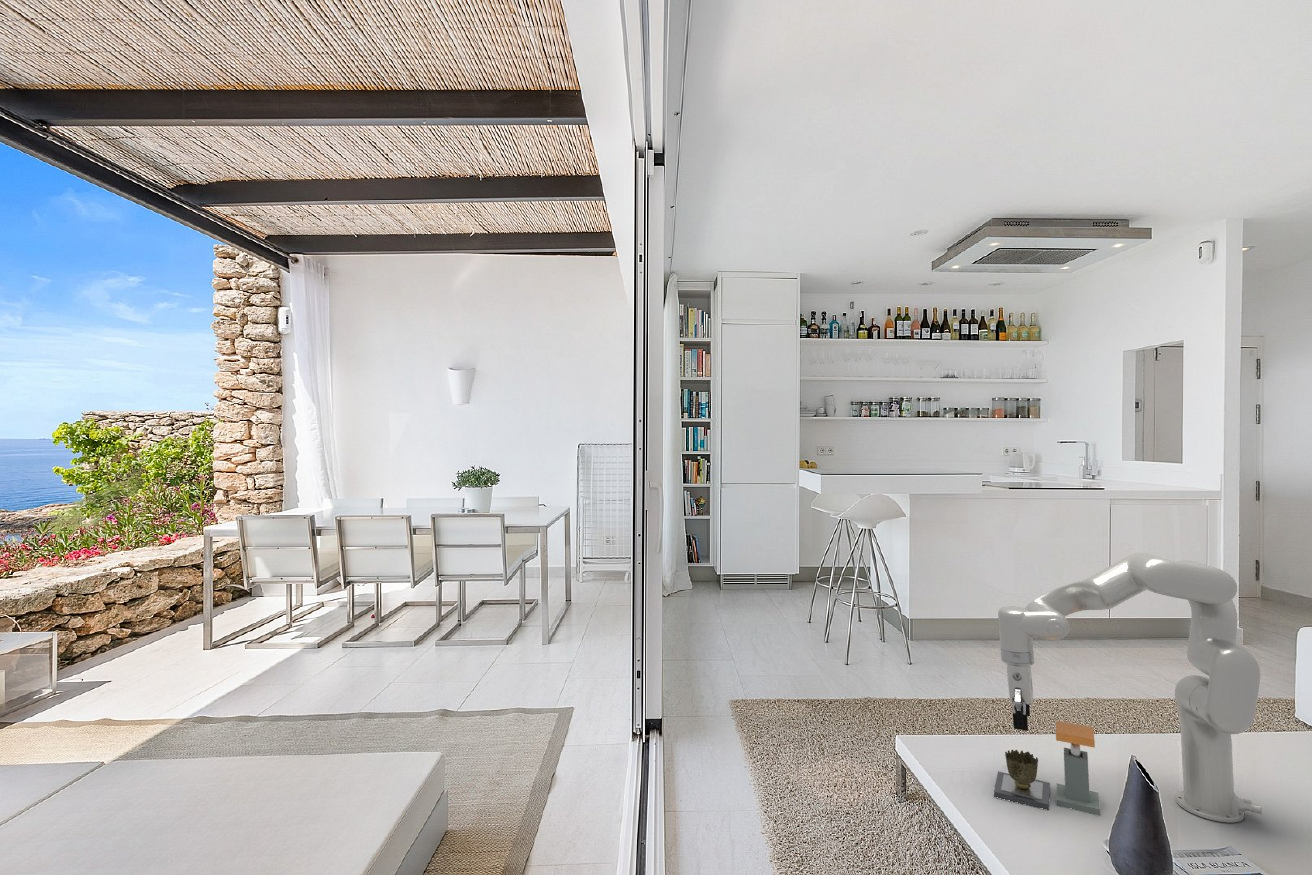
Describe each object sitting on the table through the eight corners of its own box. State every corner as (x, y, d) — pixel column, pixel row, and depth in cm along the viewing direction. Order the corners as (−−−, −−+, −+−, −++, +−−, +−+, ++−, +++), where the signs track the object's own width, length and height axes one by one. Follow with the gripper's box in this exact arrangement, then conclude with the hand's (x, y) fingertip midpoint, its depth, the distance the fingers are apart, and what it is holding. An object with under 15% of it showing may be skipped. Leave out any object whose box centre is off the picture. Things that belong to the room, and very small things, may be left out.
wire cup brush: (1045, 794, 161) (1044, 762, 161) (1016, 794, 161) (1014, 762, 162) (1028, 779, 169) (1027, 748, 169) (1000, 779, 169) (999, 749, 169)
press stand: (1098, 798, 162) (1096, 750, 162) (1100, 815, 154) (1098, 765, 155) (1056, 788, 167) (1054, 742, 167) (1056, 805, 159) (1054, 756, 159)
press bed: (1050, 788, 167) (1049, 781, 167) (1049, 810, 157) (1048, 803, 157) (998, 776, 174) (998, 770, 174) (994, 797, 163) (993, 790, 164)
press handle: (1095, 774, 162) (1093, 726, 162) (1096, 789, 155) (1094, 739, 155) (1058, 767, 166) (1056, 720, 166) (1057, 780, 159) (1055, 732, 160)
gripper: (1032, 667, 157) (1037, 738, 156) (1035, 648, 171) (1040, 712, 171) (998, 663, 161) (1002, 732, 160) (1003, 644, 175) (1008, 707, 175)
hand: (1022, 722), depth 166 cm, fingers open, 9 cm apart
